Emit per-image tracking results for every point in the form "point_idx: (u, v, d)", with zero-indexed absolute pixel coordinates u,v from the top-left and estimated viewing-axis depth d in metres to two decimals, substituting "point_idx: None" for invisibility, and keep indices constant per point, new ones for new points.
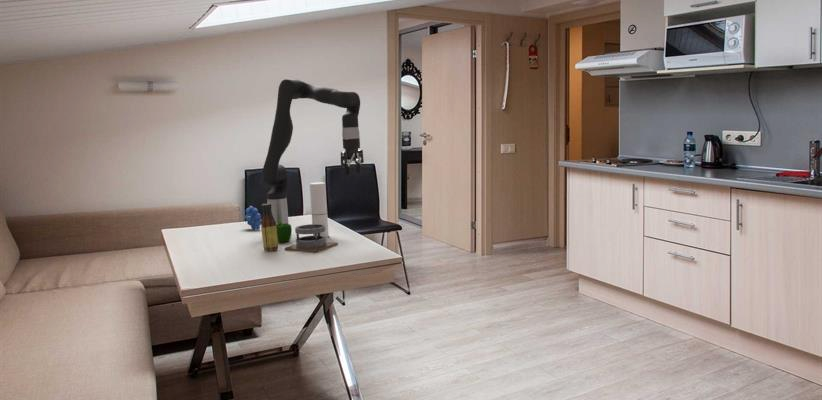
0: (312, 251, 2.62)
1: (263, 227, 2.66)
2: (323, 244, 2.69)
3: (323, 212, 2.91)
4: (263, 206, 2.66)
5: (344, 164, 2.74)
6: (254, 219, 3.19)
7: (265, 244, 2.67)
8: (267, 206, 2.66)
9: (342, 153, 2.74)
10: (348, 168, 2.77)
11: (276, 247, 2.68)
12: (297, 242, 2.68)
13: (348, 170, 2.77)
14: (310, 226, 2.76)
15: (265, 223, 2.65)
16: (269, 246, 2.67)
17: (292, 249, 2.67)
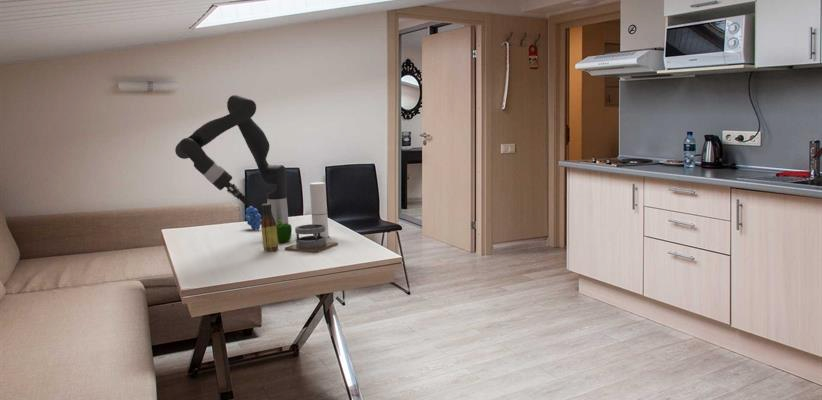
0: (312, 251, 2.62)
1: (263, 227, 2.66)
2: (323, 244, 2.69)
3: (323, 212, 2.91)
4: (263, 206, 2.66)
5: None
6: (254, 219, 3.19)
7: (265, 244, 2.67)
8: (267, 206, 2.66)
9: None
10: None
11: (276, 247, 2.68)
12: (297, 242, 2.68)
13: None
14: (310, 226, 2.76)
15: (265, 223, 2.65)
16: (269, 246, 2.67)
17: (292, 249, 2.67)
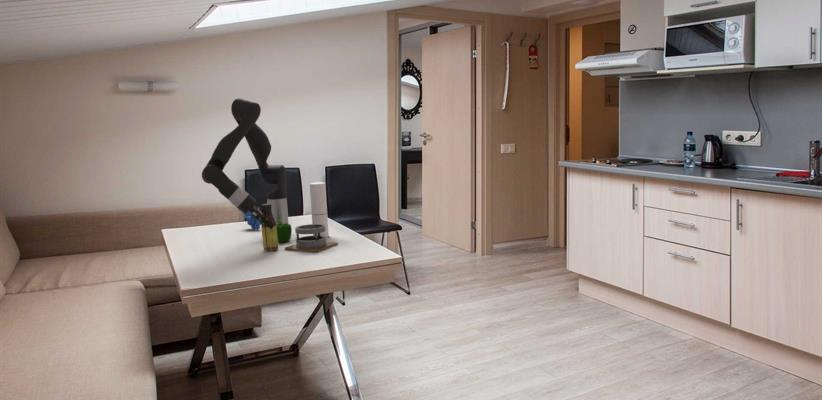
0: (312, 251, 2.62)
1: (263, 227, 2.66)
2: (323, 244, 2.69)
3: (323, 212, 2.91)
4: (263, 206, 2.66)
5: None
6: (254, 219, 3.19)
7: (265, 244, 2.67)
8: (267, 206, 2.66)
9: None
10: None
11: (276, 247, 2.68)
12: (297, 242, 2.68)
13: None
14: (310, 226, 2.76)
15: None
16: (269, 246, 2.67)
17: (292, 249, 2.67)
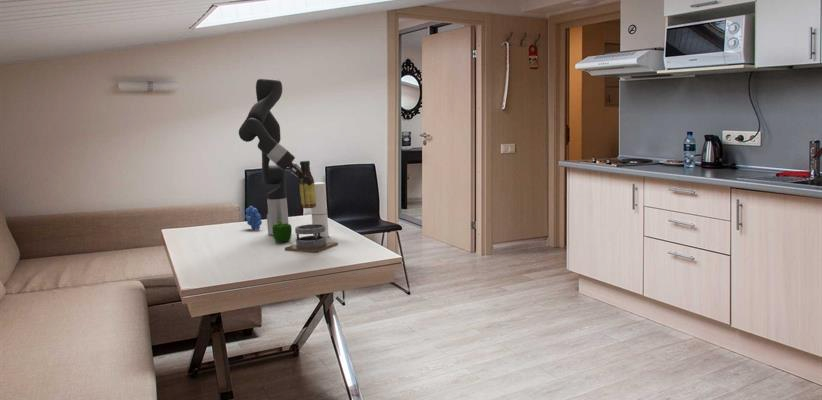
0: (312, 251, 2.62)
1: (301, 184, 2.65)
2: (323, 244, 2.69)
3: (323, 212, 2.91)
4: (301, 163, 2.65)
5: None
6: (254, 219, 3.19)
7: (303, 201, 2.66)
8: (306, 163, 2.65)
9: None
10: None
11: (314, 204, 2.68)
12: (297, 242, 2.68)
13: None
14: (310, 226, 2.76)
15: None
16: (307, 203, 2.66)
17: (292, 249, 2.67)
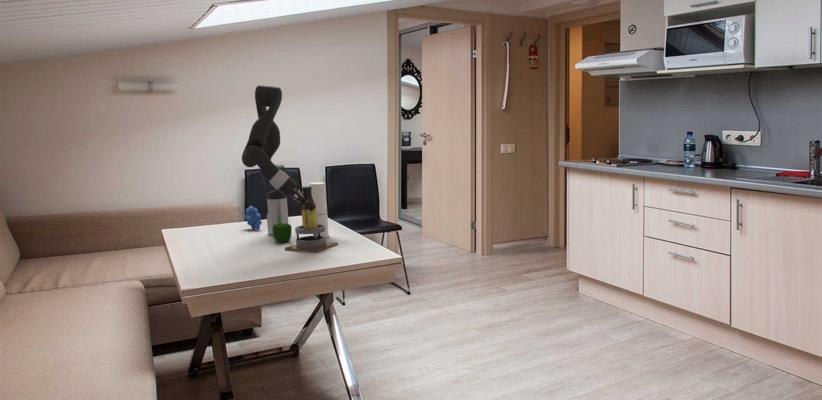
0: (312, 251, 2.62)
1: (303, 210, 2.67)
2: (323, 244, 2.69)
3: (323, 212, 2.91)
4: (303, 189, 2.66)
5: None
6: (254, 219, 3.19)
7: (305, 226, 2.68)
8: (308, 188, 2.66)
9: None
10: None
11: None
12: (297, 242, 2.68)
13: None
14: None
15: None
16: (309, 228, 2.67)
17: (292, 249, 2.67)
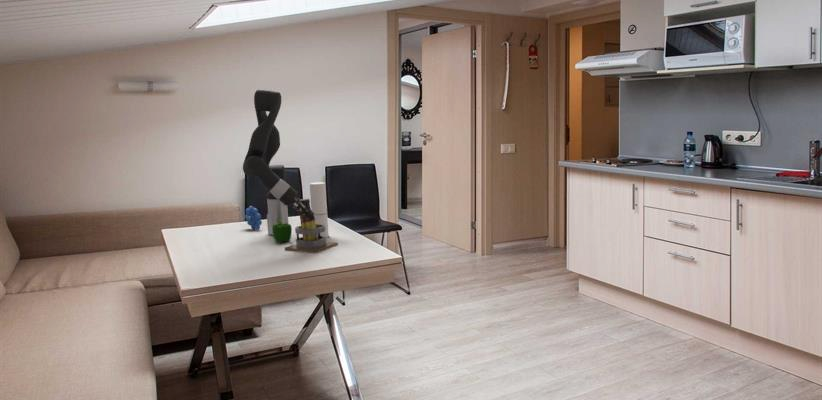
0: (312, 251, 2.62)
1: (302, 222, 2.68)
2: (323, 244, 2.69)
3: (323, 212, 2.91)
4: (301, 201, 2.67)
5: None
6: (254, 219, 3.19)
7: (305, 239, 2.69)
8: (306, 201, 2.67)
9: None
10: None
11: None
12: (297, 242, 2.68)
13: None
14: None
15: (304, 218, 2.67)
16: None
17: (292, 249, 2.67)
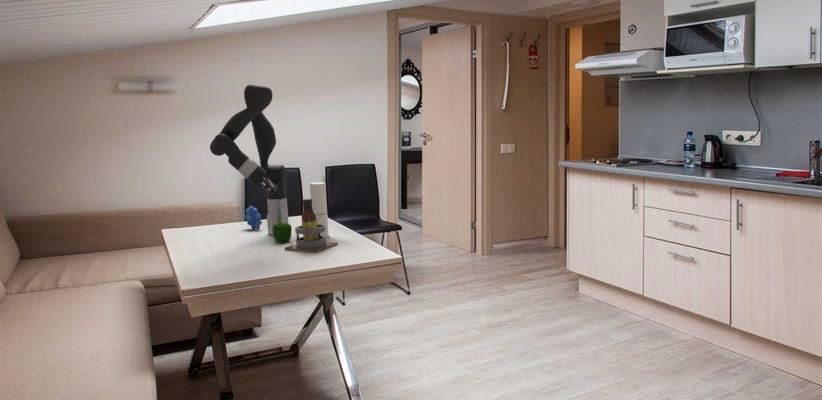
0: (312, 251, 2.62)
1: (304, 222, 2.68)
2: (323, 244, 2.69)
3: (323, 212, 2.91)
4: (304, 201, 2.68)
5: None
6: (254, 219, 3.19)
7: (306, 239, 2.69)
8: (308, 201, 2.68)
9: None
10: None
11: None
12: (297, 242, 2.68)
13: None
14: None
15: (306, 218, 2.67)
16: None
17: (292, 249, 2.67)
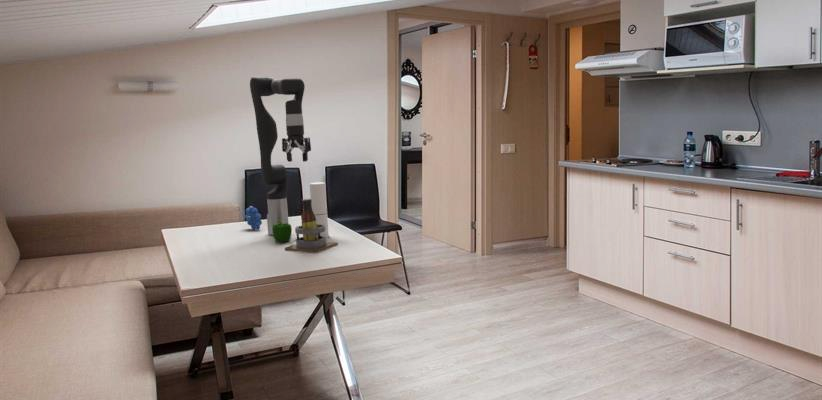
0: (312, 251, 2.62)
1: (303, 222, 2.68)
2: (323, 244, 2.69)
3: (323, 212, 2.91)
4: (303, 201, 2.67)
5: None
6: (254, 219, 3.19)
7: (306, 239, 2.69)
8: (308, 201, 2.67)
9: None
10: (287, 154, 2.81)
11: None
12: (297, 242, 2.68)
13: (287, 156, 2.82)
14: None
15: (306, 218, 2.67)
16: None
17: (292, 249, 2.67)
